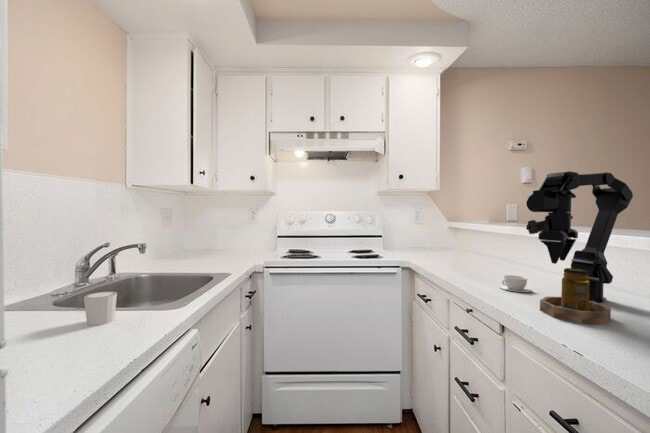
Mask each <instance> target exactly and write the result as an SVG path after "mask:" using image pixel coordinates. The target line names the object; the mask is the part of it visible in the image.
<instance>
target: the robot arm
mask: <svg viewBox="0 0 650 433" xmlns="http://www.w3.org/2000/svg"><path fill="white" fill-rule="evenodd" d="M605 185H606V186H608V187H604V188H601V186H605ZM582 186H592V191H591V192H592V193H591V194H592V195H593V196H594V198H595V204H596V206H597V209H598V210H597V214H596V216H595V219H594V222H593V225H592V227H591V230H590V233H589V235H588V238H587V242H586V243H585V247H584V248H583V249H581V250H577V249H576V250H575V251H574V253H573V256H572V259H571V262H570V268H575V269H582V270H586V271H587V272H588V278H587V279H588V281H589V283H590V284H589V301H592V302H596V303H604V302H605V301H606V300H607V297H604V286H605V285H606V284H607V285H610V284H611V283H612V282H613V278H614V276H613V275H612V273H611V271H609V269H608V268H607V266H608V261H607V258H606V256H605V251H606V248H607V245H608V242H609V240H610V237H611V235H612V232H613V229H614V227H615V223H616V221H617V218H618V215H619V214H620V213H622V212H623V211H624V210H626V209H628V207H629V205H630V203H631V201H632V199H633V196H634V194H633V191H632V190H631V189H630V187H629V186H628V185H627V183H625V182H624V181H621V179H618V178H616V177H615V176H614V174H613V173H611V172H608V171H607V172H597V173H589V174H588V173H587V174H586V173H585V174H584V173H583V174H580V173H578V172H576V171H570V170H569V171H561V172H560V171H559V172H553V173H547V175H546V177H545V179H544V180H543V181H542V183H541V185H540V187H539V189H534V190H532V194H530V195H529V196H528V198H527V200H526V206H527V210H529V211H530V212H533V213H547V215H545V217H544V220H540V221H536V220H535V219H531V220H528V222H527V224H526V228H525V229H526V230H527V231H528V234H530V235H535V234H538V240H540V242H541V243H542V244H543V245H544V246H546V248H547V251H548V255H549V257H550V261H551V263H552V264H553V265H554V264H557V263H558V261H559V260H560V261H563V262H564V261H566V258H567V257H568V255H569V253H570V251H571V249H572V248H573V246H574V245H575V243H576V242H577V239H578V238H579V232H578V231H577V230H576V229H573V228H571V227H572V225H571V224H572V220H573V215H572V199H575V198H577V195H576V194H575V193H573V192H572V190H576V189H578V188H579V187H582ZM604 284H605V285H604Z"/></svg>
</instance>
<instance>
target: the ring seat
mask: <svg viewBox="0 0 650 433" xmlns="http://www.w3.org/2000/svg"><path fill="white" fill-rule="evenodd" d="M558 306H561V296H545V297H542V299H539V311H540V312H543V313H544V314H546V315H548V316H550V317H551V318H556V319H558V320H564V321H568V322H572V323H577V324H581V325H582V324H583V325H604V326H605V325H608V324H609V322H610V321H611V317H612V316H611V315H612V314H611V313H612V312H611V311H612V308H611V307H608V306H607V305H604V304H600V303H599V302H596V301H590V300H589V311H578V310H573V309H568V308H563V307H558Z"/></svg>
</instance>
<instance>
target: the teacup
mask: <svg viewBox="0 0 650 433" xmlns="http://www.w3.org/2000/svg"><path fill="white" fill-rule="evenodd" d="M501 283H502V285H500V286H499V288H500V289H502V290H506V291H510V292H515V293H516V292H518V293H529V292H532V290H531V289H530V288H527V285H528V284H527V283H528V278H527V277H525V276H521V275H514V274H512V275H511V274H509V275H508V274H507V275H503V279H502V281H501Z"/></svg>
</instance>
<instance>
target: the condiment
mask: <svg viewBox="0 0 650 433" xmlns="http://www.w3.org/2000/svg"><path fill="white" fill-rule="evenodd" d="M587 278H588V272H587V271H586V270H582V269H575V268H571V267H566V268H564V270H563V277H562V278H561V294H560V295H561V296H560V297H561V306H558V307H563V308H568V309H573V310H578V311H589V301H590V300H589V284H590V283H589V281H588V279H587Z"/></svg>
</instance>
